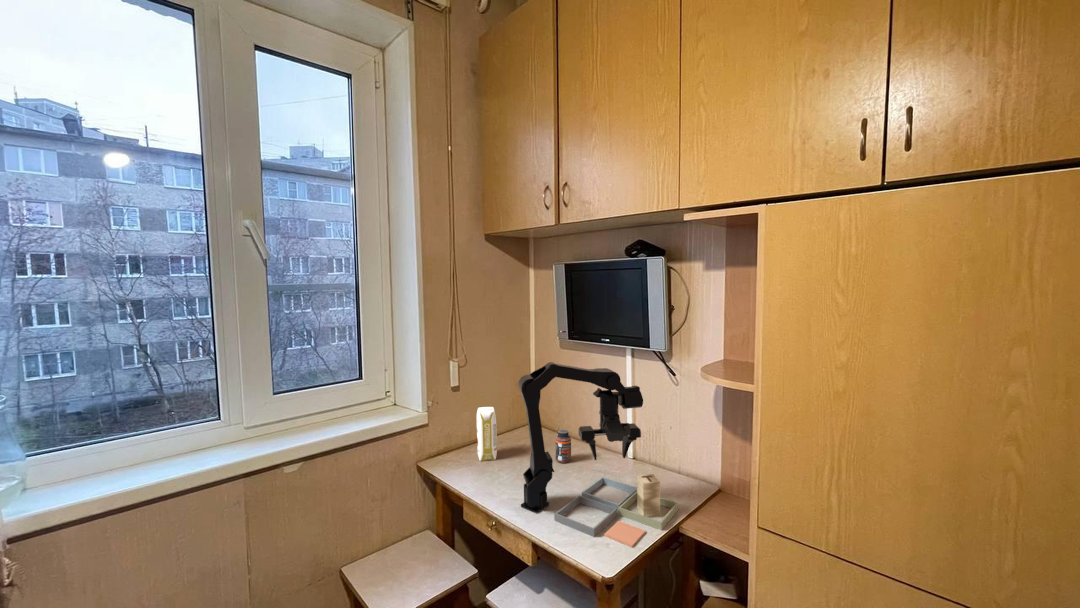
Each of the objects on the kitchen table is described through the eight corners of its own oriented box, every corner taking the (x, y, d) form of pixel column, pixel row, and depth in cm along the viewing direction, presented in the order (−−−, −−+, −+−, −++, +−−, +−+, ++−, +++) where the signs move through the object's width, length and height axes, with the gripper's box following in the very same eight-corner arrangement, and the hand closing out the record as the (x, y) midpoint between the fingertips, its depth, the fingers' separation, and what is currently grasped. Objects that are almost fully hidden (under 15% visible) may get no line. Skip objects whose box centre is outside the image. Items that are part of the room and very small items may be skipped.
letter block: (643, 517, 119) (643, 482, 118) (637, 508, 124) (637, 475, 123) (660, 516, 119) (660, 481, 119) (653, 507, 124) (653, 473, 124)
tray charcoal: (554, 520, 118) (554, 513, 118) (579, 501, 128) (579, 495, 128) (594, 536, 110) (593, 529, 110) (617, 515, 120) (617, 508, 120)
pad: (604, 536, 110) (604, 534, 110) (618, 522, 117) (618, 520, 117) (632, 547, 105) (632, 545, 105) (645, 532, 112) (645, 530, 112)
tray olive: (618, 514, 121) (618, 507, 120) (637, 496, 131) (637, 490, 131) (661, 530, 112) (661, 522, 112) (678, 509, 123) (678, 502, 123)
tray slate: (581, 498, 130) (581, 492, 130) (602, 482, 140) (602, 476, 140) (619, 511, 122) (618, 505, 122) (638, 493, 132) (638, 487, 132)
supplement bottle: (562, 465, 155) (561, 435, 154) (552, 459, 159) (552, 430, 159) (574, 460, 158) (574, 431, 158) (564, 455, 163) (564, 427, 163)
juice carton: (496, 452, 168) (495, 405, 167) (497, 460, 160) (496, 411, 159) (477, 453, 167) (476, 406, 166) (477, 462, 158) (476, 413, 158)
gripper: (585, 419, 121) (586, 472, 122) (647, 416, 123) (647, 467, 124) (577, 408, 132) (578, 456, 133) (634, 405, 134) (635, 453, 135)
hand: (609, 458), depth 131 cm, fingers open, 9 cm apart
